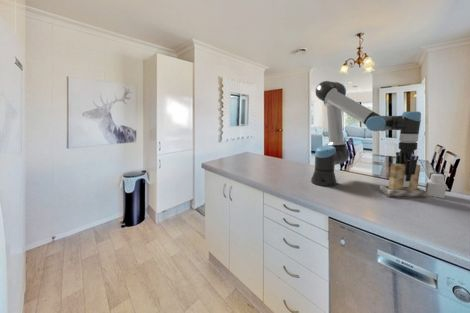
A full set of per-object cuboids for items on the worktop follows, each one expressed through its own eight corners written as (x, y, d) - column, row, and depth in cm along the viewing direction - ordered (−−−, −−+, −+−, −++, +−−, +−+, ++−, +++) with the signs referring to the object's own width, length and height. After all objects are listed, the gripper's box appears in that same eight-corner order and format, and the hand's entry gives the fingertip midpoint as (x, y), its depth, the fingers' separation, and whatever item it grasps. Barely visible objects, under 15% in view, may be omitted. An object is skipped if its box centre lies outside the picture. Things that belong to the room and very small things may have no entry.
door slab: (392, 190, 114) (395, 165, 112) (388, 188, 118) (391, 163, 116) (416, 191, 113) (420, 165, 111) (411, 188, 117) (414, 163, 114)
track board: (389, 197, 112) (389, 190, 112) (379, 191, 121) (379, 185, 121) (425, 197, 111) (426, 191, 110) (413, 192, 120) (414, 186, 119)
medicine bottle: (425, 192, 119) (428, 171, 117) (442, 194, 115) (446, 173, 113) (425, 195, 114) (429, 173, 112) (444, 198, 110) (448, 176, 107)
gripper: (429, 143, 102) (422, 190, 106) (404, 140, 119) (399, 180, 123) (412, 143, 103) (406, 190, 107) (390, 140, 120) (385, 180, 124)
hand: (402, 185), depth 115 cm, fingers closed on door slab, 4 cm apart
